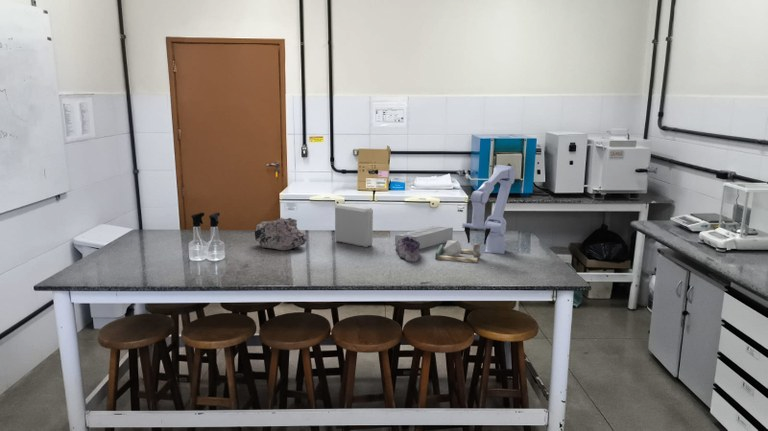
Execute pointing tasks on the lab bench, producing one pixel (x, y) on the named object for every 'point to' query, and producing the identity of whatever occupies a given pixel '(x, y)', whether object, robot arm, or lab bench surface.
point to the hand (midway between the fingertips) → (476, 243)
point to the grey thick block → (353, 225)
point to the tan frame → (475, 252)
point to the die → (452, 248)
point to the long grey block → (428, 236)
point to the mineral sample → (279, 234)
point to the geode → (408, 249)
